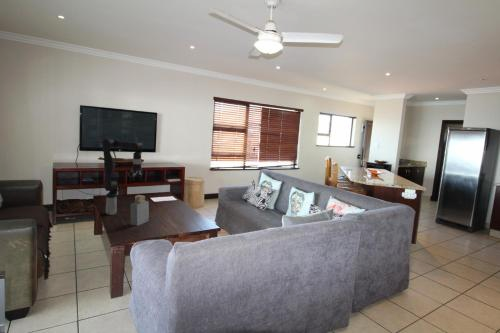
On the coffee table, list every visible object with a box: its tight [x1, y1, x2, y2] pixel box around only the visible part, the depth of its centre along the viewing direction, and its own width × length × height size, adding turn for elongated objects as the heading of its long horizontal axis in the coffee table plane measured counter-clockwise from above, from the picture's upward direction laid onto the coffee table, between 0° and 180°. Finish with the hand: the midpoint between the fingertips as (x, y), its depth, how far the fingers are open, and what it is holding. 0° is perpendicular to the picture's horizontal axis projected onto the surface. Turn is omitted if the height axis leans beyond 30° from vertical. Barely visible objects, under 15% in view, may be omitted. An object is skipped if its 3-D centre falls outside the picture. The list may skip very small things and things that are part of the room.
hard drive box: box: [130, 200, 150, 227], centre depth 267 cm, size 16×8×20 cm, turn 158°
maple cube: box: [134, 194, 146, 204], centre depth 265 cm, size 6×6×6 cm
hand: (136, 179), depth 277 cm, fingers open, 8 cm apart
